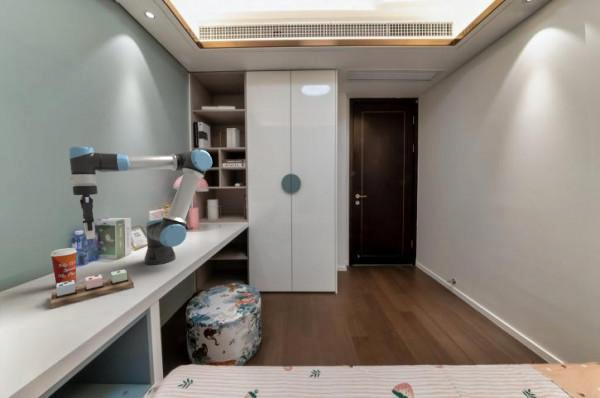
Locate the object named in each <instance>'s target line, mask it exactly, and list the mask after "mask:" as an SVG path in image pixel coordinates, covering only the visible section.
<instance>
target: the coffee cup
mask: <svg viewBox="0 0 600 398" xmlns="http://www.w3.org/2000/svg"><path fill="white" fill-rule="evenodd" d="M77 252H78V250H77V249H76V248H75V247H67V248H65V247H64V248H61V249H55V250H53V251H51V253H50V255H49V256H50V257H51V261H52V268H53V274H54V280H55V281H54V282H55V285H56V286H55V287H57V283H62V282H67V281H70V280H74V282H75V284H76V282H77Z"/></svg>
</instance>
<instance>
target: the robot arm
mask: <svg viewBox="0 0 600 398" xmlns="http://www.w3.org/2000/svg"><path fill="white" fill-rule="evenodd" d="M68 151H69V164H70V173H71V176H69V180H72V182H71V183H72V185H73V186H72V193H73V196H81V199H79V204H80V208H81V209H82V218H83V220H82V224H83V227H84V228H83V229H84V235H85V237H86V240H92V239H93V240H94V239H96V230H95V218H94V212H93V208H94V199H93V198H92V197H91V195H98V186H97V185H96V184H97V182H98V181H97V173H96V172H99V173H111V172H112V173H113V172H132V171H135V172H138V171H155V170H156V171H157V170H171V171H173V172H175V171H177V172H179V171H180V172H183V173H182V177H181V179H180V182H179V184H178V187H177V190H176V193H175V195H174V198H173V200H172V203H171V206H170V208H169V211H168V214H166V215H165V216H163V218H162V219H154V220H148V221H146V226H145V231H146V245H147V249H146V251H145V256H144V261H143V262H144V264H145V265H148V266H149V265H151V266H152V265H161V264H162V265H163V264H167V263H170V262H173V261H175V260H176V252H175V250H174V247H178V246H179V245H181V244H182V243H184V241H185V240H186V237H187V234H188V233H187V230H186V226H187V221H186V218H187V215H188V212H189V209H190V206H191V204H192V201H193V198H194V196H195V193H196V190H197V187H198V185H199V182H200V180H201V179H203V178H204V177H205V175H206V172H207V171H208V170H210V169H211V168H212V165H213V159H212V156H211V155H210V153H209V152H208V151H206V150H205V149H194V150H189V151H185V152H181V153H171V154H169V155H126V154H122V153H103V152H95V151H94V148H93V147H89V146H79V145H78V146H71V147H70V148H69V150H68Z"/></svg>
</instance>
